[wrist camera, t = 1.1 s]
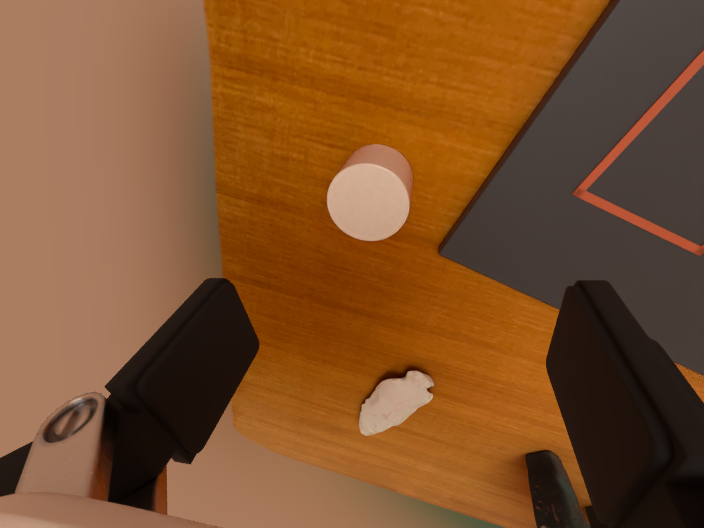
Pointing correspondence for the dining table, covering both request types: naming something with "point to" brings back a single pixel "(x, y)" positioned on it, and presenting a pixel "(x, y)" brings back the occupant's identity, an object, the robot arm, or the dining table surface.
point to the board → (608, 178)
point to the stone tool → (394, 402)
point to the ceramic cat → (555, 495)
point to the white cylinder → (371, 193)
